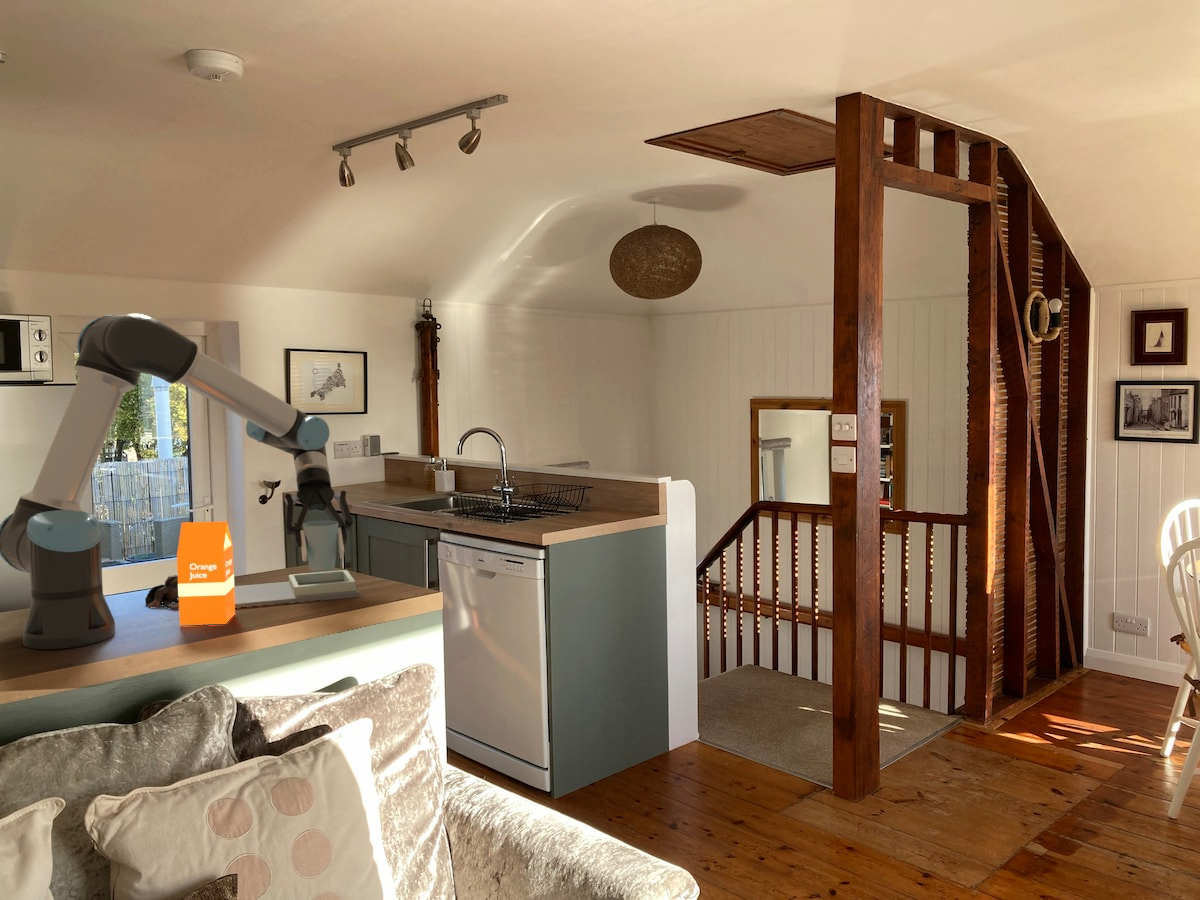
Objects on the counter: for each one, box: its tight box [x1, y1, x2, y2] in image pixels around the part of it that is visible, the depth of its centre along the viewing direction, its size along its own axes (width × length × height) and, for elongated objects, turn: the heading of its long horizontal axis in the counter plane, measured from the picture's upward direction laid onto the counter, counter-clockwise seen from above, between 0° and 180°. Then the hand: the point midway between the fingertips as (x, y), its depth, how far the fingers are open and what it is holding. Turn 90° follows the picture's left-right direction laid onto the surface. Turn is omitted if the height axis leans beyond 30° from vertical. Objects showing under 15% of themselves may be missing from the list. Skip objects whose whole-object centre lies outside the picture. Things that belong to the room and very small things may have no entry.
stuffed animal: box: [145, 574, 179, 610], centre depth 205 cm, size 12×10×12 cm
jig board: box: [234, 569, 360, 609], centre depth 211 cm, size 26×17×3 cm, turn 113°
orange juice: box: [176, 521, 236, 626], centre depth 189 cm, size 8×9×20 cm
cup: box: [302, 519, 338, 572], centre depth 213 cm, size 8×8×10 cm
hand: (323, 556), depth 210 cm, fingers closed on cup, 7 cm apart
